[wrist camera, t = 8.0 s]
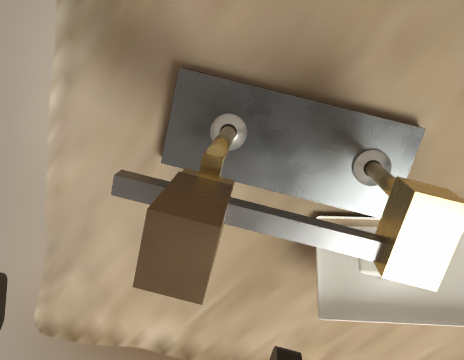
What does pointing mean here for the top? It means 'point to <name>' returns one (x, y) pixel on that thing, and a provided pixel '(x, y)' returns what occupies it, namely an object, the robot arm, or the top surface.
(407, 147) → the bolt plate
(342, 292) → the light switch
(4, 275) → the robot arm
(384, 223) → the dividers frame
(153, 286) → the block
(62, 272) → the top surface
